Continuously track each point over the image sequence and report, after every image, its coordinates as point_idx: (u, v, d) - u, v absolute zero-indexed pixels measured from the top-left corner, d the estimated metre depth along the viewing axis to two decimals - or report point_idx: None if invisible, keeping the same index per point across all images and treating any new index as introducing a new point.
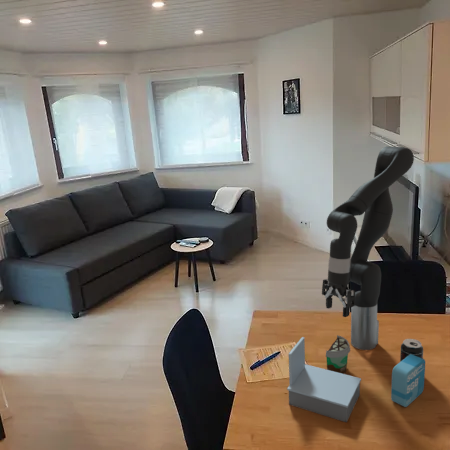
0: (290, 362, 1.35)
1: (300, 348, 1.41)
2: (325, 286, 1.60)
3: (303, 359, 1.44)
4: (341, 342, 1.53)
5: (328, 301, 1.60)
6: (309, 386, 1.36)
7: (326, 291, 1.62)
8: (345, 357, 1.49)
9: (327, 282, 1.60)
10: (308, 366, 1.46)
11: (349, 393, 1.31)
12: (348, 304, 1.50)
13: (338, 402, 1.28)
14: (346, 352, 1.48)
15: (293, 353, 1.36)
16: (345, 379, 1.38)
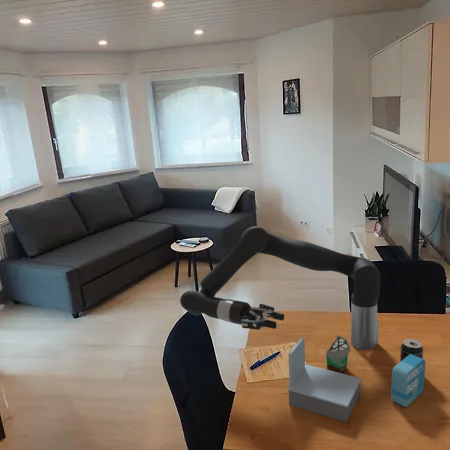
0: (290, 362, 1.35)
1: (300, 348, 1.41)
2: None
3: (303, 359, 1.44)
4: (341, 342, 1.53)
5: (275, 318, 1.43)
6: (309, 386, 1.36)
7: None
8: (345, 357, 1.49)
9: None
10: (308, 366, 1.46)
11: (349, 393, 1.31)
12: None
13: (338, 402, 1.28)
14: (346, 352, 1.48)
15: (293, 353, 1.36)
16: (345, 379, 1.38)
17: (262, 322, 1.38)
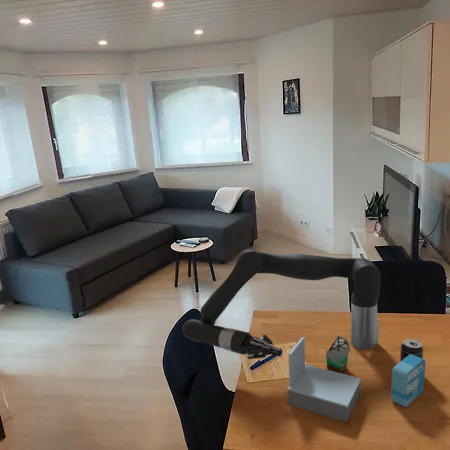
0: (290, 362, 1.35)
1: (300, 348, 1.41)
2: None
3: (303, 359, 1.44)
4: (341, 342, 1.53)
5: None
6: (309, 386, 1.36)
7: None
8: (345, 357, 1.49)
9: None
10: (308, 366, 1.46)
11: (349, 393, 1.31)
12: None
13: (338, 402, 1.28)
14: (346, 352, 1.48)
15: (293, 353, 1.36)
16: (345, 379, 1.38)
17: (269, 350, 1.43)
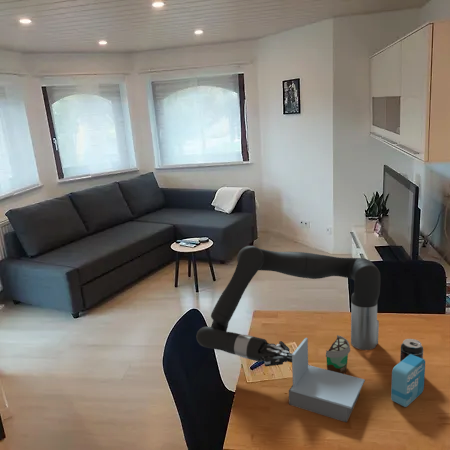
0: (293, 363, 1.34)
1: (303, 349, 1.40)
2: None
3: (306, 359, 1.43)
4: (341, 342, 1.53)
5: None
6: (312, 387, 1.35)
7: None
8: (345, 357, 1.49)
9: None
10: (311, 367, 1.46)
11: (353, 394, 1.31)
12: None
13: (342, 403, 1.27)
14: (346, 352, 1.48)
15: (296, 354, 1.35)
16: (349, 380, 1.38)
17: (286, 357, 1.40)
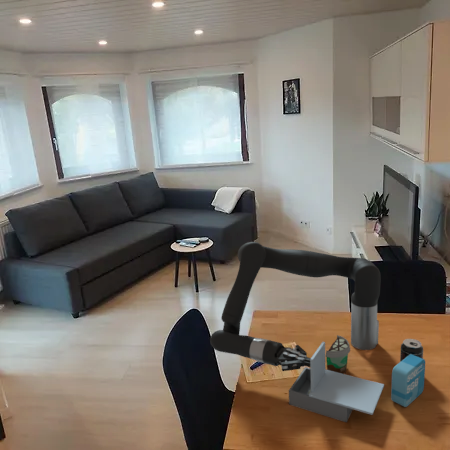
0: (312, 368, 1.31)
1: (321, 353, 1.37)
2: None
3: (323, 364, 1.40)
4: (341, 342, 1.53)
5: None
6: (331, 392, 1.32)
7: None
8: (345, 357, 1.49)
9: None
10: (328, 371, 1.43)
11: (373, 400, 1.28)
12: None
13: (363, 409, 1.24)
14: (346, 352, 1.48)
15: (315, 358, 1.32)
16: (368, 385, 1.35)
17: (303, 361, 1.37)
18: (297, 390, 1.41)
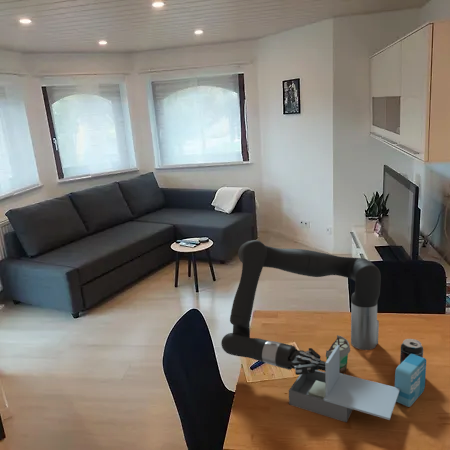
0: (327, 371, 1.29)
1: (336, 356, 1.35)
2: None
3: (338, 367, 1.38)
4: (341, 342, 1.53)
5: None
6: (346, 397, 1.30)
7: None
8: (345, 357, 1.49)
9: None
10: (343, 375, 1.40)
11: (390, 404, 1.26)
12: None
13: (379, 414, 1.22)
14: (346, 352, 1.48)
15: (330, 362, 1.30)
16: (384, 389, 1.32)
17: (318, 365, 1.35)
18: (297, 390, 1.41)
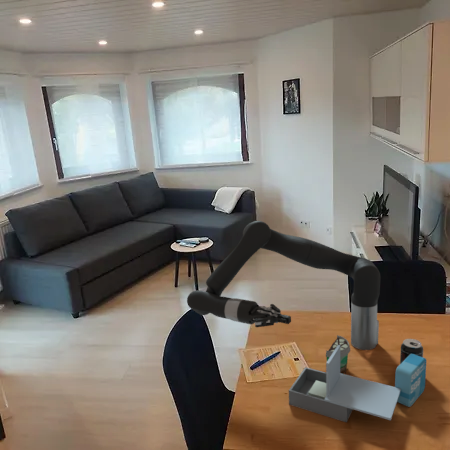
0: (328, 372, 1.29)
1: (336, 357, 1.35)
2: None
3: (339, 367, 1.38)
4: (341, 342, 1.53)
5: None
6: (347, 397, 1.30)
7: None
8: (345, 357, 1.49)
9: None
10: (343, 375, 1.40)
11: (391, 405, 1.25)
12: None
13: (380, 415, 1.22)
14: (346, 352, 1.48)
15: (330, 362, 1.30)
16: (385, 389, 1.32)
17: (277, 317, 1.38)
18: (297, 390, 1.41)
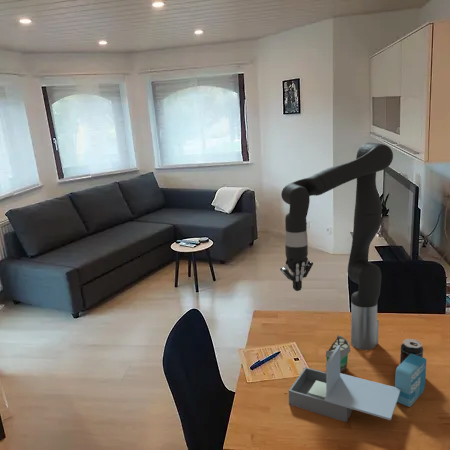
0: (328, 372, 1.29)
1: (336, 357, 1.35)
2: (304, 266, 1.55)
3: (339, 367, 1.38)
4: (341, 342, 1.53)
5: None
6: (347, 397, 1.30)
7: None
8: (345, 357, 1.49)
9: None
10: (343, 375, 1.40)
11: (391, 405, 1.25)
12: None
13: (380, 415, 1.22)
14: (346, 352, 1.48)
15: (330, 362, 1.30)
16: (385, 389, 1.32)
17: (295, 281, 1.53)
18: (297, 390, 1.41)
